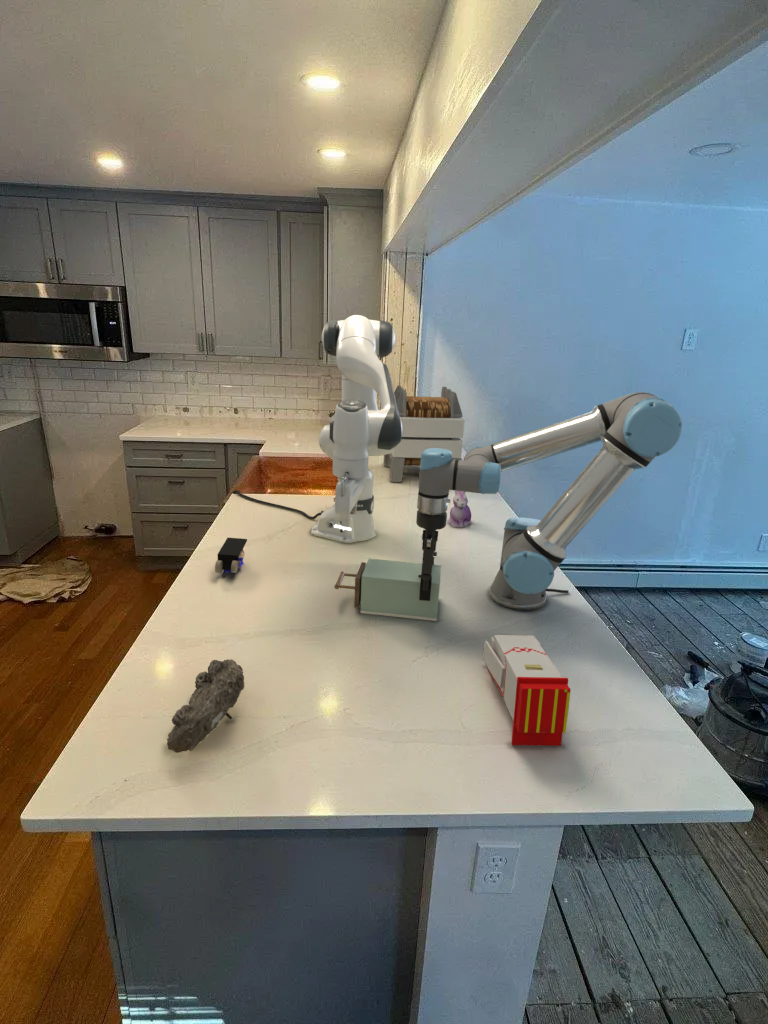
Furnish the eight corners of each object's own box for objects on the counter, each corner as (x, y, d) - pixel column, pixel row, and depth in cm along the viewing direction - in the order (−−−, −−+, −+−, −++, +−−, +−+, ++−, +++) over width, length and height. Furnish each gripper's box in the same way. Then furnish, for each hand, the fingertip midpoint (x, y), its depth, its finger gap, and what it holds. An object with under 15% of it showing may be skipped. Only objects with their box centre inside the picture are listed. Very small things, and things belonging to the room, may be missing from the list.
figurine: (457, 529, 205) (460, 490, 200) (441, 520, 214) (444, 482, 209) (478, 526, 210) (482, 487, 205) (462, 517, 218) (465, 480, 213)
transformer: (382, 463, 289) (386, 382, 275) (445, 464, 293) (451, 384, 279) (390, 482, 257) (394, 392, 243) (460, 483, 261) (468, 394, 247)
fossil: (192, 660, 117) (244, 628, 112) (224, 691, 120) (276, 661, 115) (142, 746, 98) (202, 712, 93) (182, 779, 101) (242, 748, 96)
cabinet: (360, 613, 147) (361, 576, 144) (367, 593, 158) (368, 558, 154) (436, 621, 145) (439, 583, 141) (438, 600, 155) (441, 565, 152)
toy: (531, 618, 129) (580, 685, 100) (526, 672, 132) (572, 753, 102) (478, 617, 129) (511, 684, 99) (475, 671, 131) (505, 752, 102)
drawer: (333, 605, 148) (333, 576, 145) (341, 588, 158) (341, 560, 155) (424, 615, 146) (427, 585, 143) (427, 596, 155) (429, 568, 152)
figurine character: (238, 584, 162) (249, 557, 175) (236, 562, 158) (247, 536, 172) (215, 584, 161) (227, 556, 175) (212, 561, 158) (225, 535, 171)
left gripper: (355, 479, 130) (353, 535, 135) (369, 458, 150) (367, 508, 154) (328, 477, 131) (327, 533, 136) (345, 456, 150) (344, 506, 155)
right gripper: (445, 529, 130) (438, 612, 137) (448, 497, 152) (442, 571, 159) (413, 526, 131) (407, 609, 138) (420, 495, 153) (415, 568, 160)
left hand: (349, 519), depth 145 cm, fingers open, 8 cm apart
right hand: (426, 589), depth 149 cm, fingers closed on cabinet, 11 cm apart
